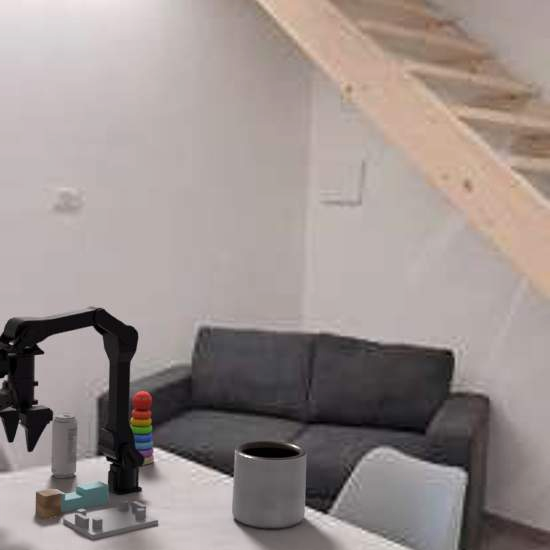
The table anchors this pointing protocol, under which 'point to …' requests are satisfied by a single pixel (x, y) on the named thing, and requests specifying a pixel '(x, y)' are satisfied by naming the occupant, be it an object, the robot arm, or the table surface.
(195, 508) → the table surface
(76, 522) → the jig
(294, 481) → the planter
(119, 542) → the table surface
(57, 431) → the energy drink can
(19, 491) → the table surface
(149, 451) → the stacking toy
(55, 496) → the brown wooden cube
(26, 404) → the robot arm
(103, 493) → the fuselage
